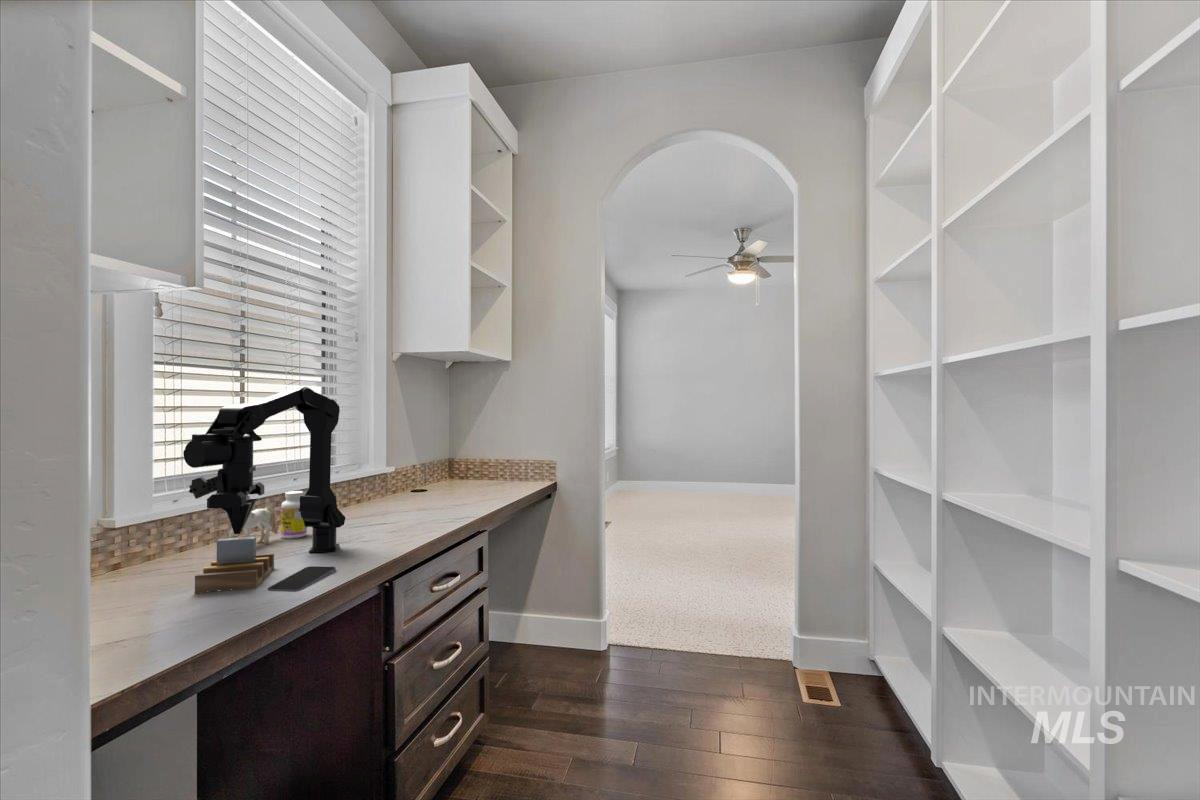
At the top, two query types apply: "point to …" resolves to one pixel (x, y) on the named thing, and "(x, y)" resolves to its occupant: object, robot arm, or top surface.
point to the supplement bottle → (292, 516)
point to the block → (236, 551)
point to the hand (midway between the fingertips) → (237, 533)
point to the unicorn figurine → (261, 523)
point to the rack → (234, 575)
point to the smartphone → (302, 578)
